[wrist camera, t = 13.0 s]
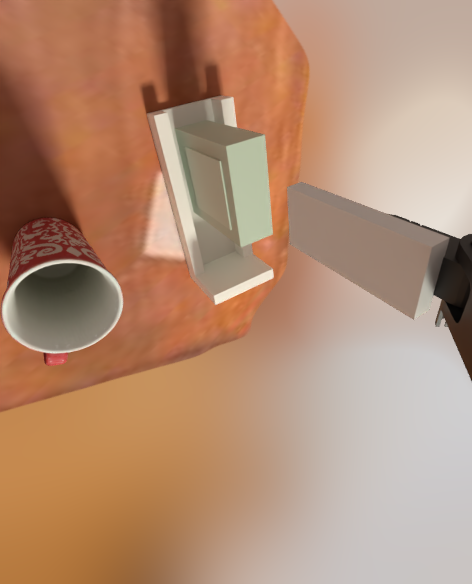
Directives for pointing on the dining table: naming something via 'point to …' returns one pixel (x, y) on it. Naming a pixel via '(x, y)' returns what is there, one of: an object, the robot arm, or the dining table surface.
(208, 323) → the dining table surface
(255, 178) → the door panel
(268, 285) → the dining table surface
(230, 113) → the track
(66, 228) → the mug
